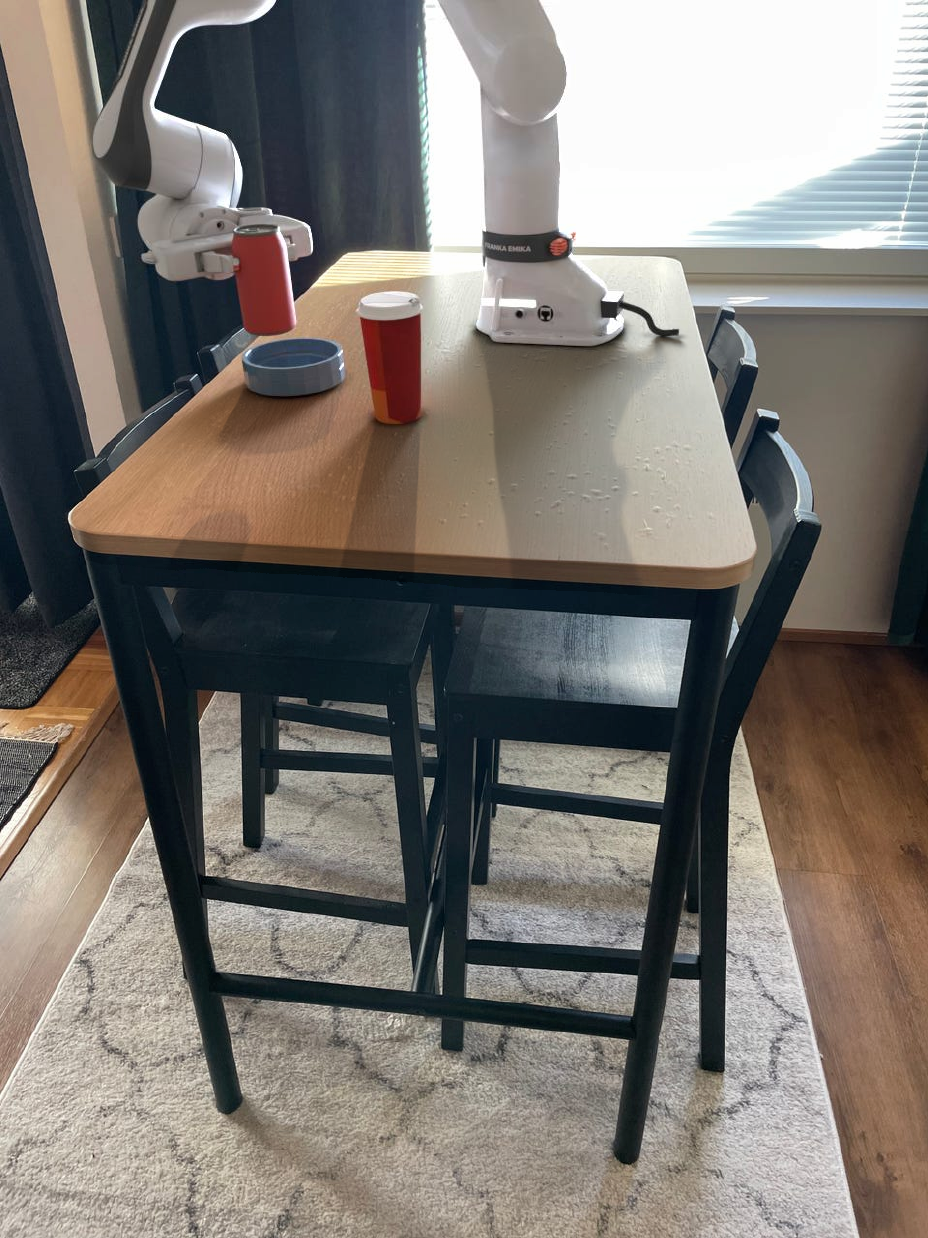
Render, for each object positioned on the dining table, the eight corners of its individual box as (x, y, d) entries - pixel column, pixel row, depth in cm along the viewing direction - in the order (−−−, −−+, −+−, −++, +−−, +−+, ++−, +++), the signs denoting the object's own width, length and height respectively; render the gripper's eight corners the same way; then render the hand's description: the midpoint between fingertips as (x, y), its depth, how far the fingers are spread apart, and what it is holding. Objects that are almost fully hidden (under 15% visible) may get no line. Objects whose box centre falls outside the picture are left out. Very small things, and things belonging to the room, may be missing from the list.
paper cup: (438, 407, 115) (432, 291, 107) (415, 430, 109) (407, 309, 101) (380, 401, 117) (370, 288, 110) (355, 424, 111) (343, 305, 104)
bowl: (363, 371, 127) (360, 342, 125) (310, 404, 117) (306, 373, 115) (283, 361, 132) (279, 333, 130) (226, 391, 122) (221, 362, 120)
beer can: (247, 323, 119) (231, 224, 112) (298, 320, 119) (286, 221, 113) (241, 338, 114) (224, 235, 107) (295, 336, 114) (281, 232, 107)
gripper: (129, 228, 113) (178, 245, 104) (276, 205, 123) (332, 218, 114) (141, 282, 116) (189, 303, 107) (282, 254, 127) (337, 271, 118)
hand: (264, 259), depth 111 cm, fingers closed on beer can, 6 cm apart
